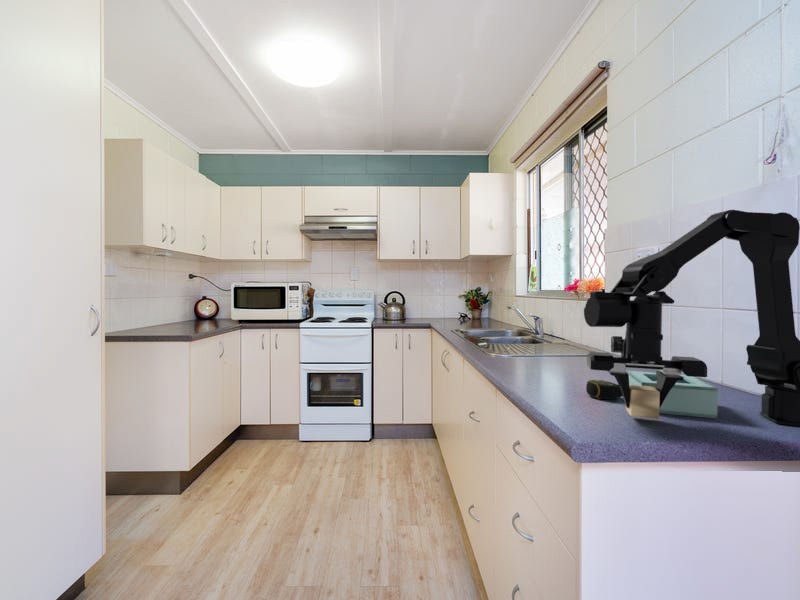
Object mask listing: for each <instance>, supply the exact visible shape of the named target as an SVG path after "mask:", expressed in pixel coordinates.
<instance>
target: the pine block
mask: <svg viewBox="0 0 800 600" xmlns="http://www.w3.org/2000/svg"><path fill="white" fill-rule="evenodd" d="M629 390H630V405H629V408H627V407H626V406H625V410H626V412H627V413H628V414H629V415H630V417H633V418H645V419H655V420H659V419H660V413H659V401H660V392H659V391H658V390H656V389H655V388H654V387H653V386H639V385H629Z"/></svg>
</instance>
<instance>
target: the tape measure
mask: <svg viewBox="0 0 800 600" xmlns="http://www.w3.org/2000/svg"><path fill="white" fill-rule="evenodd" d="M585 388H586V389H585V391H586V393H587V395H589V396H591V397H594V398H596V399H599V400H604V399H605V400H606V399H607V400H614V399H617V398H621V397H623V396H622V393H621V390H620V387H619V384H618V383H615V382H611V381H606V380H602V379H590V380H588V381H587V382H586V387H585Z"/></svg>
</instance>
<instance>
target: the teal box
mask: <svg viewBox="0 0 800 600" xmlns="http://www.w3.org/2000/svg"><path fill="white" fill-rule="evenodd" d="M626 373H628V374H629V385H639V386H653V387H654V388H655V389H656V384H657V376H656V372H652V371H639V370H638V371H637V370H627V371H626ZM681 376H682V377H683V378H684V380H678V381H677V382H676V383H675V385H674V386H673V387H672V389H671V390H670V391H669V393H668V395H667V396H666V398H665V400H664V402H663V403H662V405H661V407H660V409H659V414H666V415H675V416H676V415H677V416H685V417H686V416H687V417H698V418H707V419H718V404H719V403H718V398H719V388H718V387H716V386H714V385H713V384H711V383H709V382H707V381H705V380H703V379H701V378H700V377H692V376H686V375H685V374H684V373H681Z"/></svg>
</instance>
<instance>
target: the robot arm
mask: <svg viewBox="0 0 800 600" xmlns="http://www.w3.org/2000/svg"><path fill="white" fill-rule="evenodd" d="M724 238H726V239H727V240H733V241H736V242H737V241H738V243H739V245H740V250H741V252H742V253H743V254H744V255H745V256H746V258H747V259H748V261H750V263H752V268H753V269H752V270H753V280H754V288H755V289H754V291H755V301H756V310H757V311H756V312H757V321H758V331H759V336H758V338H757V339H756V341H755V342H754V344H747V345H746V348H745V349H746V354H747V362H746V365H748V366H750V370H751V371H752V373H753V374H754V376H755V380H756V383H757V385H761V386H764V388H765V389H764V393H762V394H761V409H760V410H761V411H759V415H760V416H762V417H764V418H766V419H768V420H770V421H771V422H774V423H775V424H780V425H787V426H789V425H790V426H799V427H800V339H799V338H798V337H797V334H796V326H795V317H794V305H793V296H792V295H793V294H792V283H791V273H790V264H789V262H790V259H791V257H792V255H793V254H794V252H795V251H796V250H797V247H798V245H799V240H800V239H799V238H800V223H799V219H798V218H797V217H795V216H793V215H792V214H791V213H788V212H783V211H782V212H781V211H780V212H777V213H773V212H752V211H743V210H738V209H736V210H735V209H727V210H725V211H720V212H716V213H712V214H710V215H709V216H708V217H707V218H706V219H705V220H704V221H702V222H701V223H700V224H698V225H697V226H695V227H694V228H693V229H691V230H690V231H688V232H687V233H685V234H684V235H683V236H681V237H680V238H677V239H676V240H675V241H674V242H672V243H671V244H669V245H668V246H666V247H664V248H663V249H662V250H660V251H658V252H656V253H653V254H651V255H648V256H645V257H642V258H640V259H638V260H636V261H633V262H631V263H629V264H627V265H626V266H625V267H624V268H623V269H622V273H621V278H620V279H619V280H618V281H617V282H616V283H615V285H614V287H613V288H612V289H611V290H610V292H605V291H602V290H601V291H597V290H596V291H595V290H594V291H590V293H589V295H590V296H589V298H588V299H587V301H586V304H585V306H584V307H583V316H584V320H585V323H586V325H588V326H589V327H591V328H623V327H624V326H626V327H625V328H626V329H625V337H624V339H623V336H619V335H617V336H616V335H612V336H611V337H610V352H611V353H617V354H619V353H620V357H616V356H613V354H611V353H610V352H602V351H601V352H599V351H590V352H589V353H588V354H587V357H586V359H587V361H586V364H587V367H588V368H589V369H590V370H593V371H603V372H607V373H608V374H609V375H610V376H612V377H613V376H614V378H615V380H616V382H617V385H619V387H620V390H621V393H622V396H621V397H622V398H623V399H622V400H623V401H624V404H625V408H626V407H627V408H629V405H630V390H629V374H628V373H627V371H626V368H630V369H631V368H632V369H643V370H644V369H647V370H655V373H656V376H657V384H656V390H658V391H659V392H660V401H659V409H660V407H661V405H662V403H663V402H664V400H665V398H666V396H667V395H668V393H669V391H670V390H671V389H672V387H673V386H674V385H675V383H676V382H677V381H678V380H684V378H683V377H682V376H681V374H684V375H686V376H692V377H697V378H708V365H707V364H706V363H705V361H703V360H702V359H700V358H696V357H694V356H676V355H675V356H673V355H672V356H671V360H670V359H663V356H662V341H663V340H664V335H663V334H662V326H663V324H662V322H663V305H664V304H665V305H666V304H667V305H668V304H669V305H670V304H671V305H673V304H675V300H674V299H673V298H672V297H670V296H669V295H668V294H667V293H666V291H663V290H664V289H665V288H666V287H668V285H669V284H670V283H672V281H674V279H676V278H677V276H678V275H679V272H680V271H681V269H682V268H683V267H684V266H685V265H686V264H687V263H689V262H691V261H692V260H693V259H694V258H696V257H697V256H699V255H700V254H702V253H703V252H705V251H706V250H708V249H709V248H711V247H713V246H714V245H716V243H718V242H720V241H721V240H722V239H724ZM652 292H654V293H653V294H650V293H652ZM632 297H634V299H633V300H631V298H632Z"/></svg>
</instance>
